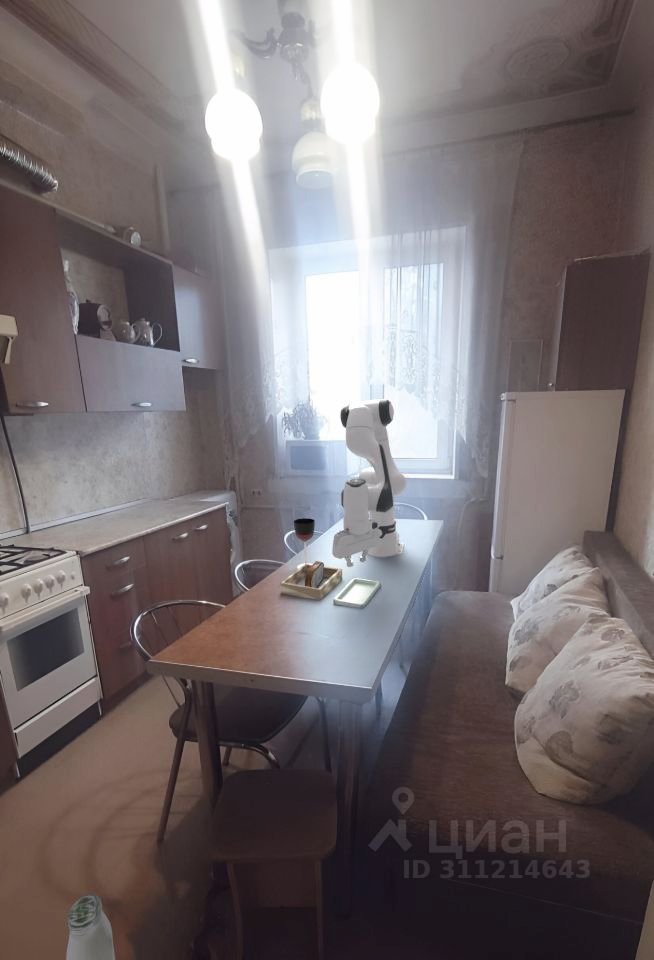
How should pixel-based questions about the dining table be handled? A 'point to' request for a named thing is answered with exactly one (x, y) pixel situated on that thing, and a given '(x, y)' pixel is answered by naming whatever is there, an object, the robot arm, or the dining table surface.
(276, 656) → the dining table surface
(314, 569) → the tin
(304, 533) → the wineglass
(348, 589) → the sage tray
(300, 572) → the birch crate
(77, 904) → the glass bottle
